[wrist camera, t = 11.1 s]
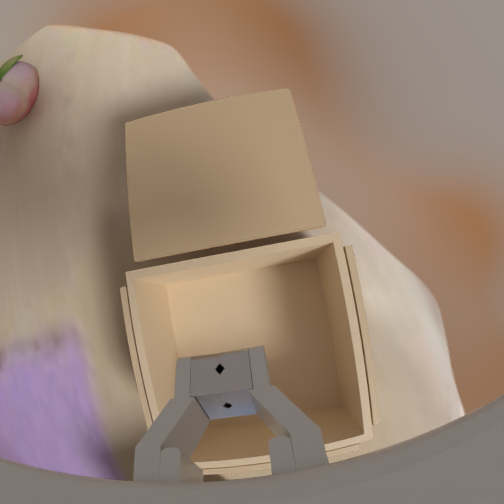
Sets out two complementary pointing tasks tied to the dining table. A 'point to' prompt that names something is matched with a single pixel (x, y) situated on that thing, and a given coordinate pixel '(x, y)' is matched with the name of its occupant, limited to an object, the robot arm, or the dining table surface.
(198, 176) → the flap
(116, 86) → the dining table surface
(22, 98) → the decorative fruit
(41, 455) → the dining table surface
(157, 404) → the carton
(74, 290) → the dining table surface
